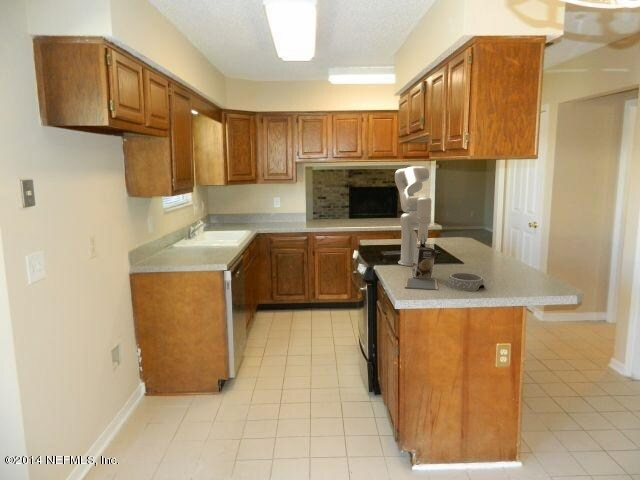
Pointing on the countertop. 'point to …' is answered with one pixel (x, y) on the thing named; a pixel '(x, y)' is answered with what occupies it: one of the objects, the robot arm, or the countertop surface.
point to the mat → (421, 284)
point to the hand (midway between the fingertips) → (422, 253)
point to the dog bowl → (465, 281)
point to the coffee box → (423, 263)
